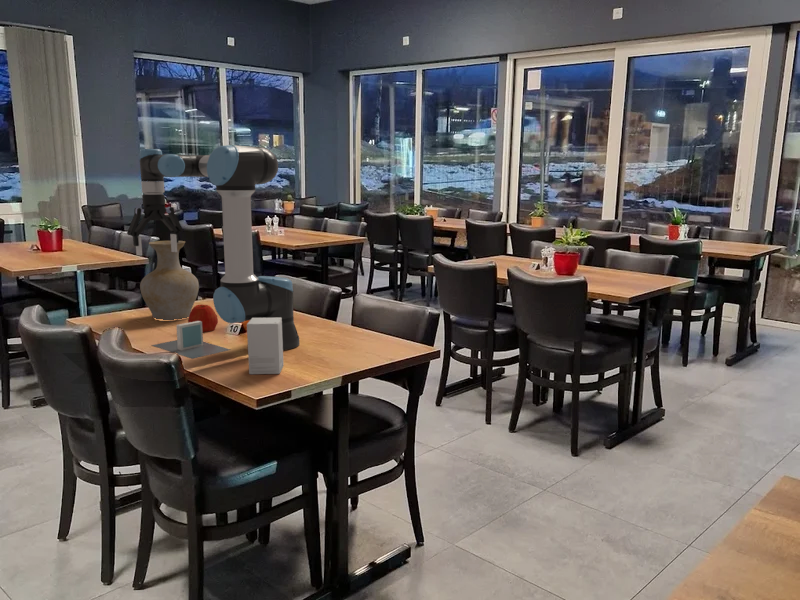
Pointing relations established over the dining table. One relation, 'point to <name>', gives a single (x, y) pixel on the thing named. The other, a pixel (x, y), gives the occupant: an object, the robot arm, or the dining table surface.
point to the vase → (169, 285)
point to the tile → (189, 335)
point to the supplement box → (265, 345)
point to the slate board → (192, 349)
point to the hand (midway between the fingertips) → (157, 253)
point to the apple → (204, 317)
